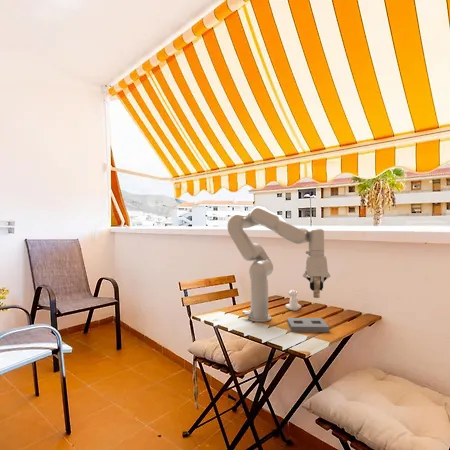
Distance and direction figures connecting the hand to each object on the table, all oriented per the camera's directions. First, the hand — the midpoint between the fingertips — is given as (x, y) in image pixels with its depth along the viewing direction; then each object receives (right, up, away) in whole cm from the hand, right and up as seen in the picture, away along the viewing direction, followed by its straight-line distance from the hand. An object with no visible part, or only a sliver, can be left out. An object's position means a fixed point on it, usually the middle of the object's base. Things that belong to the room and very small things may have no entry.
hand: (316, 289), depth 161 cm
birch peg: (0, -4, 0) cm, 4 cm away
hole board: (-5, -19, +1) cm, 19 cm away
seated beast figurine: (-4, -19, +33) cm, 38 cm away
